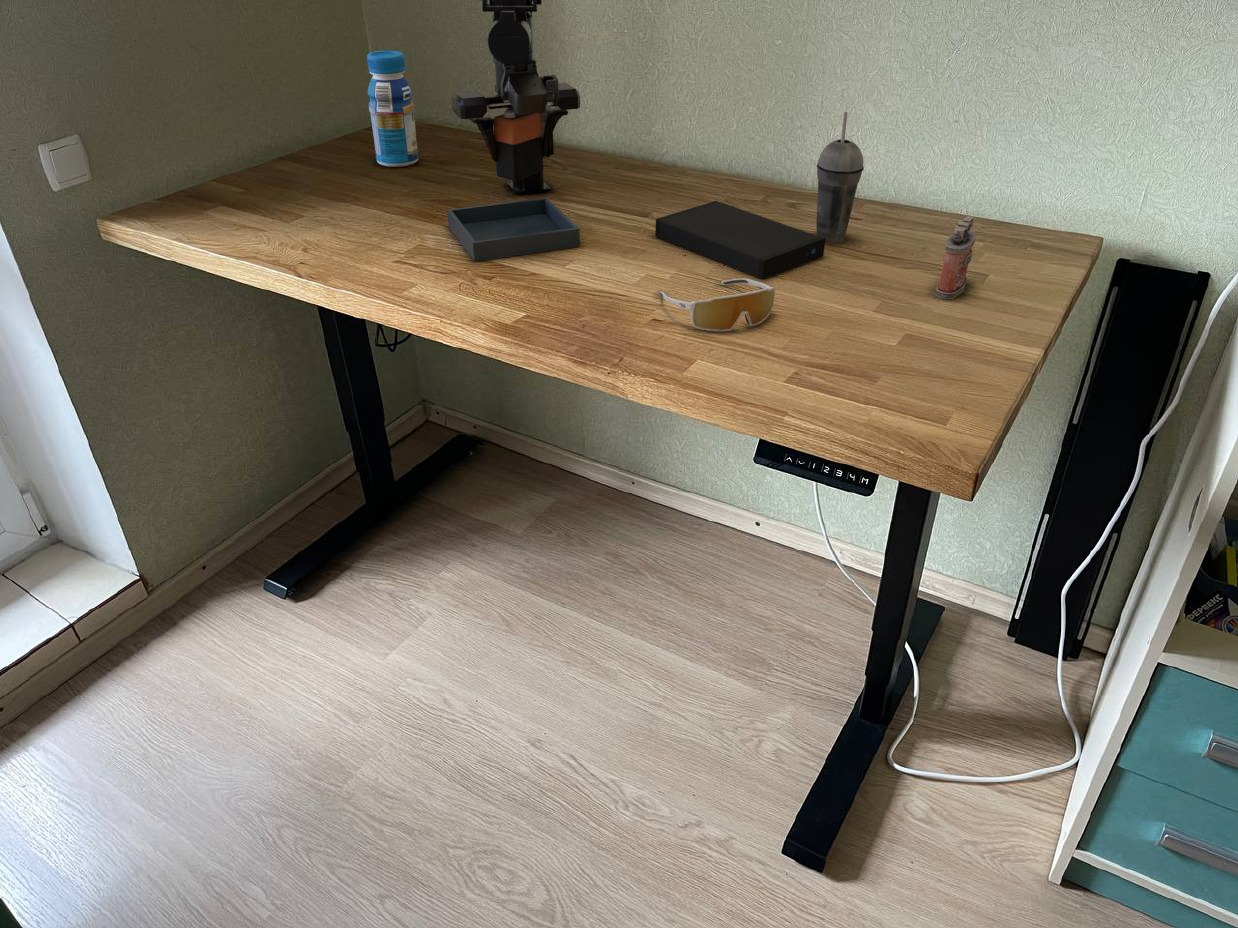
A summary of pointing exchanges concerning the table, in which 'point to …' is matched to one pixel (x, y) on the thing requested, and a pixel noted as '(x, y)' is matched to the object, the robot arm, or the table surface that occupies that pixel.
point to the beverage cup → (837, 186)
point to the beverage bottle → (391, 110)
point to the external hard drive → (740, 239)
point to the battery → (518, 145)
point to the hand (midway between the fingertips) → (519, 158)
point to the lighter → (956, 260)
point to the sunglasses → (729, 307)
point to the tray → (512, 229)
